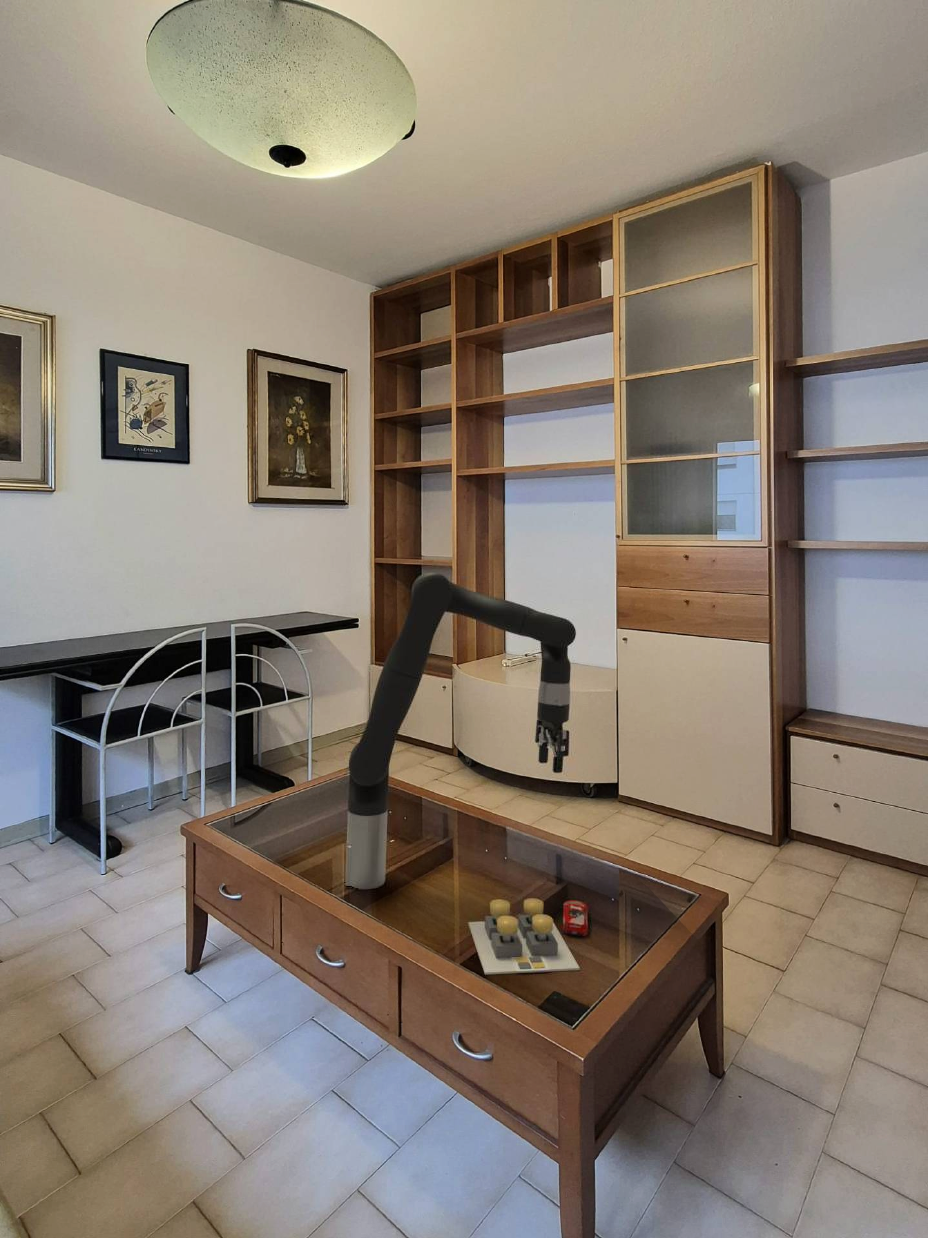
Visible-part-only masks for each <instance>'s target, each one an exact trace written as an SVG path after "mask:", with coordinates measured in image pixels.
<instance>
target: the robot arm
mask: <svg viewBox="0 0 928 1238" xmlns="http://www.w3.org/2000/svg"><path fill="white" fill-rule="evenodd" d="M407 610H408V611H407V612H406V613H407V614H406V617H405V620H404V623H403V626H402V628H401V630H400V632H399V634H398V635H397V637H396V638H395V641H394V642H393V644H392V645H391V646H392V647H391V648H390V650H389V652H388V655H387V657H386V659H385V661H384V664H383V666H382V670H381V673H380V675H379V677H378V680H377V684H376V686H375V690H374V695H373V699H372V703H371V707H370V708H371V709H370V712H369V716H368V720H367V723H366V726H365V728H364V729H363V730H364V731H363V733H362V734H361V735H362V736H360V739H359V741H358V743H356V744H355V745H354V747H353V748H352V750H351V752H350V754H349V755H350V756H349V760H348V771H349V780H348V781H349V782H348V784H349V785H348V796H347V798H348V799H347V828H346V851H345V852H346V853H345V855H346V857H345V882H346V883H345V885H347V886H352V887H354V888H353V889H356V888H358V889H357V890H371V889H372V890H373V889H377V888H379V887H381V886H383V885H384V884H385V883H386V882H385V881H386V867H387V866H386V863H387V861H386V859H387V858H386V857H387V836H388V835H387V833H388V804H389V782H390V781H389V780H390V779H389V775H390V763H391V758H392V754H393V750H394V747H395V743H396V739H397V737H398V734H399V731H400V729H401V727H402V724H403V722H404V721H405V719H406V716H407V715H408V712H409V710H410V708H411V706H412V703H413V701H414V698H415V696H416V694H417V692H418V689H419V686H420V683H421V681H422V678H423V675H424V671H425V668H426V665H427V663H428V658H429V654H430V651H431V647H432V643H433V639H434V637H435V634H436V632H437V629H438V627H439V625H440V623H441V621H442V619H443V616H444V615H445V613H449V614H450V613H451V614H456V615H460V616H463V617H467V618H470V619H471V620H475V621H478V622H479V623H481V624H482V623H483V624H484V625H487V626H490V627H493V628H495V629H498V630H501V631H504V632H507V633H511V634H514V635H518V636H521V637H526V638H531V639H533V640H535V641H538V642H539V643H540V655H541V665H540V677H539V678H540V680H539V687H538V693H537V694H538V696H537V698H538V699H537V713H536V715H537V716H536V717H537V719H536V725H535V737H534V738H535V739H534V741H535V742H534V743H536V744H537V748H538V758H537V759H538V763H540V764H547V763H548V761H549V748H550V749H551V750H552V753H553V758H552V772H553V773H555V774H561V773H563V770H564V769H563V767H564V766H563V765H564V758H565V757H568V756H570V755H569V751H570V731H569V730H565V729H564V728H563V726H564V725H563V724H565V723H566V722H569V720H570V704H571V703H570V702H571V668H572V667H571V661H570V659H569V656H568V653H569V650H568V649H569V646H571V645H572V644H573V643H574V641H575V639H576V636H577V632H576V631H577V630H576V627H575V626H574V624H573V622H572V621H570V620H568V619H567V618H564V617H561V616H557V615H553V614H550V613H546V612H541V611H539V610H536V609H534V608H532V607H529V606H526V605H523V604H520V603H517V602H513V601H511V600H507V599H503V598H498V597H496V596H491V595H490V596H489V595H487V594H483V593H479V592H476V591H473V590H470V589H467V588H464V587H462V586H460V585H458V584H455V583H454V582H452V581H450V580H449V579H448V577H446V576H445V575H443V574H442V573H439V572H433V571H430V572H425V573H423V574H421V575H419V576H418V577H417V578H416V579H415V580H414V582H413V584H412V587H411V598H410V603H409V607H408V609H407ZM345 885H344V886H345ZM352 887H351V888H352Z"/></svg>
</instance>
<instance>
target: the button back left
mask: <svg viewBox="0 0 928 1238" xmlns="http://www.w3.org/2000/svg"><path fill="white" fill-rule="evenodd" d="M489 904H490V906H489V914H490V915H491V916H496V921H495V925H497V919H498V918H499V917H500V916H508V915H509V916H510V914H511V903H510V902H509V901H508V900H505V899H500V898H499V899H498V898H497V899H493V900H491V901H490V903H489Z"/></svg>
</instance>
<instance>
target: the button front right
mask: <svg viewBox="0 0 928 1238" xmlns="http://www.w3.org/2000/svg"><path fill="white" fill-rule="evenodd" d="M553 922H554V919H553V918H552V917H551V916H550V915H548V914H544V913H543V914H538V915H535V916H533V918H532V929H533V930H534V931H536V932H538V941H546V933H550V932H551V931H552V930H553Z"/></svg>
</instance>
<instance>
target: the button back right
mask: <svg viewBox="0 0 928 1238" xmlns="http://www.w3.org/2000/svg"><path fill="white" fill-rule="evenodd" d="M523 913H524V914H525V915H529V924H532V918H533V916H535V915H538V914H543V915H544V902H543V901H542V900H541V899H539V898H534V897H532V898H531V897H530V898H527V899H524V901H523Z"/></svg>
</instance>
